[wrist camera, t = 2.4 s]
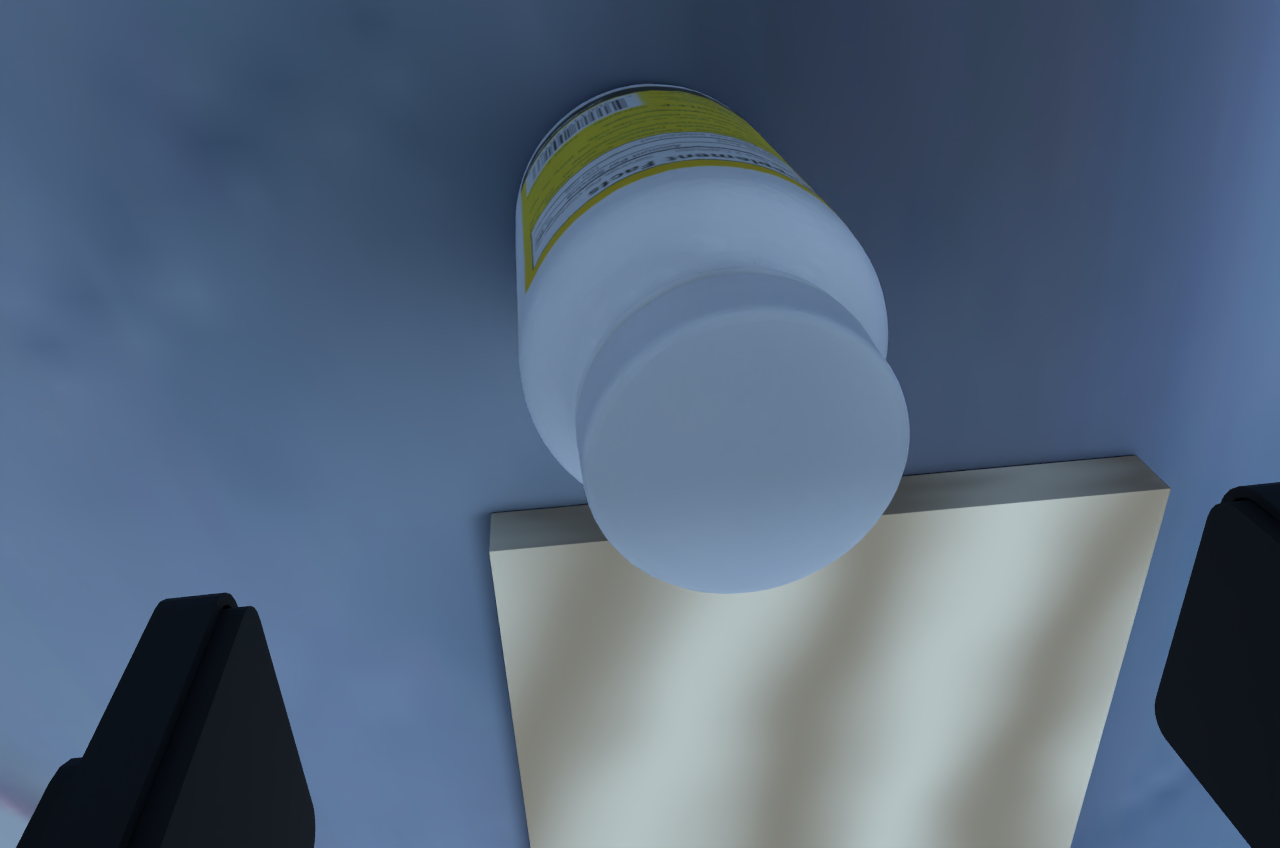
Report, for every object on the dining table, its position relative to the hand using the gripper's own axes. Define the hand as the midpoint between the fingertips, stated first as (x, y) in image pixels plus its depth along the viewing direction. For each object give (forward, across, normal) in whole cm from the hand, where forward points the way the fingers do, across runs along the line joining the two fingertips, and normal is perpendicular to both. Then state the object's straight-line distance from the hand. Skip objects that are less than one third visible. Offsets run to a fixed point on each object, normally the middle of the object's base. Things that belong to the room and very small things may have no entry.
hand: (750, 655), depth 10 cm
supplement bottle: (+12, -1, -1) cm, 13 cm away
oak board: (+12, -5, +14) cm, 19 cm away
